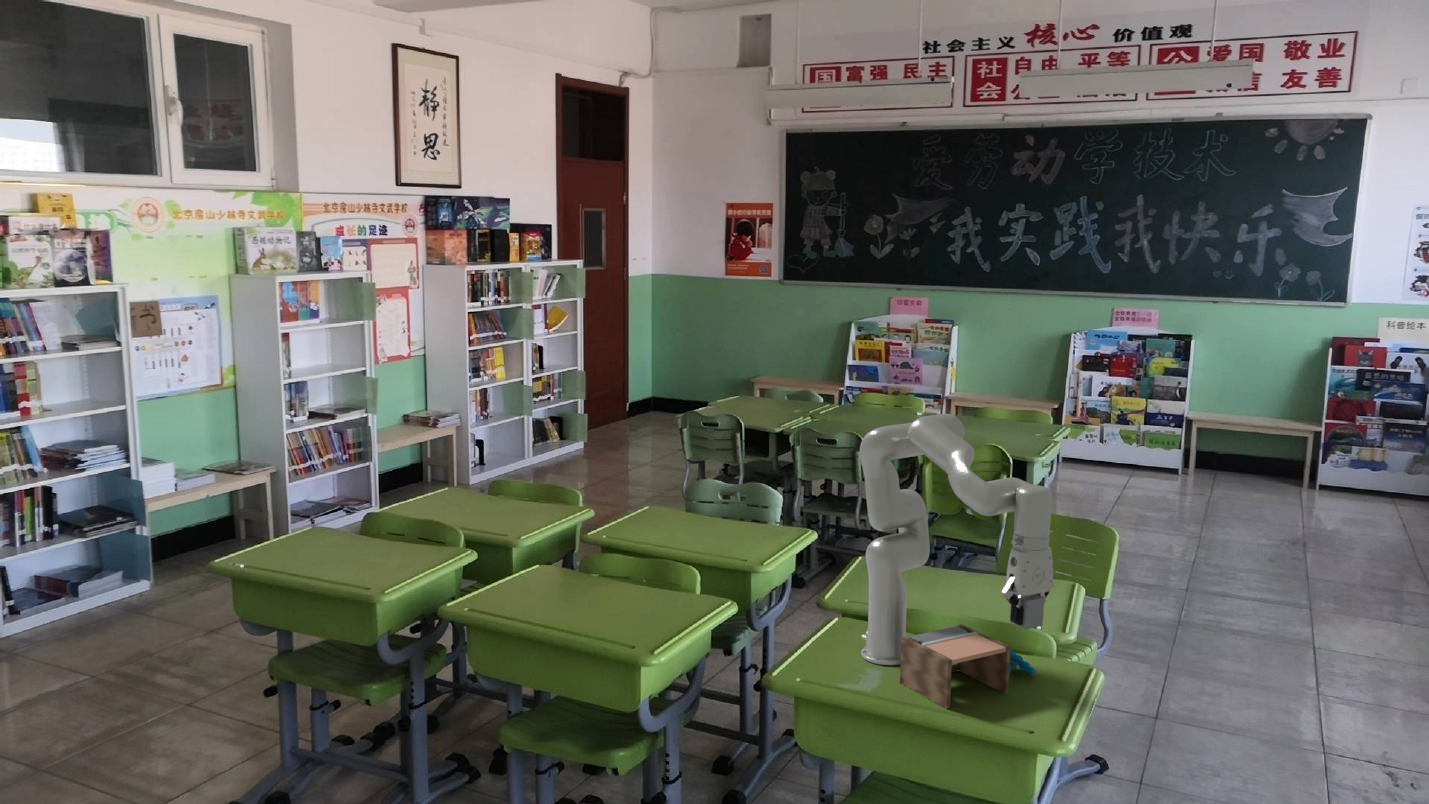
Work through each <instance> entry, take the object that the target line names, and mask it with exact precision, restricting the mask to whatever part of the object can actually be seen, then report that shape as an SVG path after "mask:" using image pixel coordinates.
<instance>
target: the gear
mask: <svg viewBox="0 0 1429 804" xmlns="http://www.w3.org/2000/svg"><path fill="white" fill-rule="evenodd" d="M1017 667H1019V669H1020V670H1022V671H1024V672H1026V673H1027V674H1029V675H1035V674H1036V669H1035V668H1034V667H1033V666H1031V663H1029V662H1028V660H1027V661H1025V660H1024V658H1023V657H1022V656H1021V655H1020V654H1017V653H1016V652H1015V651H1014V649H1012V648H1011V650H1010V672H1009V675H1010V674H1011V673H1012V671H1013V670H1014V668H1015V669H1016V668H1017Z"/></svg>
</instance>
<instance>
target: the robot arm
mask: <svg viewBox="0 0 1429 804" xmlns="http://www.w3.org/2000/svg"><path fill="white" fill-rule="evenodd" d="M965 434H966V433H965V427H964V425H963V423H962V421H961V420H960V419H959V417H957V416H955V415H953V414H950V413H940V414H938V413H937V414H932V415H925V416H921V417H918V418H917V419H915V420H914V421H913V422H907V423H901V424H890V425H885V426H884V425H883V426H880V427H877V428H874V429H872V430H870V431H869V432H867V433H866V434H865V435H864V437H863V438H862V440H861V443H860V446H859V459H860V460H859V461H860V464H861V467H862V471H863V477H864V485H865V486H864V487H865V498H866V506H867V507H866V508H867V509H866V510H867V517H868V522H869V524H870V526H871V527H872V528H873V529H874V530H876V531H878V532H879V531H881V532H886V531H887V532H888V531H894V530H897V529H898V533H893V534H888V535H884V536H880V537H877V538H875V539H874V540H872V541H871V542H870V543H869V544H868V545H867V547H866V551H865V564H866V567H867V574H868V610H867V611H868V615H867V616H868V617H867V620H868V621H867V631H866V632H865V634H862V635H861V639H862V640H864V641H865V646H864V647H863V648H862V649H861V651H860V653H861V655H860V656H861V657H862V658H863V659H864V660H865V661H867V662H870V663H872V664H876V665H881V666H899V665H900V664H901V637H907V636H906V635H907V633H906V632H907V631H906V630H907V604H908V601H907V597H908V596H907V595H908V594H907V586H906V583H905V581H904V578H903V577H902V572H905V571H908V570H912V569H916V568H919V567H922V566H923V565H925V564H926V563H927V562H928V559H929V557H930V550H931V547H930V535H929V534H930V532H929V523H928V513H927V507H926V504H925V503H926V502H924V500H923V498H922V496H921V495H920V494H919V493H918V492H917V491H915V490H913V489H910V488H905V489H904V488H903V489H901V488H900V481H899V480H900V478H899V477H900V476H899V474H898V472H897V470H896V469H897V468H896V467H895V465H894V464H893V463H892V461H893V460H897V459H898V460H899V459H905V458H911V457H918V456H923V455H924V456H925V457H926V458H927V459H929V460H930V461H932V462H933V463H934V464H935V465H937V466H938V467H939V468H940V469H941V470H943V471H944V472H945V473H946V474H947V477H948V482H949V485H950V487H951V489H952V491H953V493H954V494H955V496H956V497H957V498H958V499H959V500H960V501H962V502H963V503H964V504H965V505H966V506H967V507H968V508H970V509H971V510H973V511H974V512H975V513H978V514H979V515H981V516H986V517H991V516H997V515H1002V514H1006V513H1012V512H1013V513H1014V521H1013V522H1014V523H1013V524H1014V525H1013V537H1012V539H1011V545H1012V547H1010V548H1011V549H1010V552H1009V557H1008V563H1007V566H1006V577H1005V578H1006V579H1005V586H1003V589H1002V590H1001V592H1000V594H1001V595H1002V596H1003V597H1004V598H1005V599H1006V601H1007V602H1008V604H1009V605H1011V616H1010V615H1009V621H1011V622H1013V623H1016V624H1018V625H1022V624H1023V610H1024V609H1023V608H1022V607H1021V606H1022V603H1023V599H1024V596H1030V595H1035V594H1037V595H1039V596H1042V597H1044V604H1046V598H1047V597H1048V595H1049V594H1050V592H1051V590H1052V589H1053V588H1054V587H1055V584H1054V560H1053V552H1052V547H1050V535H1051V534H1050V533H1051V532H1050V529H1051V516H1052V503H1053V502H1052V501H1053V500H1052V499H1053V494H1052V491H1051V490H1050V488H1049V487H1045V486H1044V485H1038V484H1031V483H1030V482H1027V481H1025V480H1022V479H1020V478H1018V477H1006V478H1005V477H1004V478H1001V479H995V480H989V481H985V480H984V479H982V478H981V477H979V476H978V475H977V474H976V473H975V472H974V471H972V470H971V466H972V464H973V462H974V459H975V455H976V454H975V453H976V452H975V449H974V447H973V446H972V445H971V444H970V443H968V442H967V441H966V440H964V438H965ZM1016 595H1018V600H1017V599H1016ZM1013 623H1012V624H1013Z"/></svg>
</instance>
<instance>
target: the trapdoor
mask: <svg viewBox="0 0 1429 804" xmlns="http://www.w3.org/2000/svg"><path fill="white" fill-rule="evenodd" d="M908 638H909V639H911V640H913V641H915V642H917V643H919V644H921V645H923V646H925V647H927V648H929V649H931V650H932V651H934V652H936V653H938V654H940V655H942V656H944V657H946V658H948V659H950V660H952V665H954V664H957V663H960V662H964V661H968V660H973V659H977V658H981V657H985V656H990V655H994V654H998V653H1002V652H1006V647H1004V646H1002V645H999V644H997V643H995V642H993V641H991V640H989V639H986V638H984V637H982V636H980V635H978V634H977V633H976V632H972V633H969V632H967V631H966V630H964V629H962V628H960V627H959V625H958V626H952V627H948V628H941V629H938V630H933V631H928V632H925V633H924V632H923V633H919V634H915V635H909V636H908Z"/></svg>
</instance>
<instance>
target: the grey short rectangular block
mask: <svg viewBox="0 0 1429 804" xmlns="http://www.w3.org/2000/svg"><path fill="white" fill-rule="evenodd" d="M1016 599H1017V600H1018V595H1016ZM1009 605H1010V604H1009ZM1021 607H1022V608H1023V609H1024V610H1023V624H1022V625H1018V624H1016V623H1013V622H1011V621H1010V620H1009V623H1010V624H1012V625H1013V624H1014V626H1017V627H1019V628H1022V629H1024V630H1029V629H1033V628H1034V629H1035V628H1038V627H1043V626H1044V625H1043V624H1044V611H1045V610H1044V609H1045V603H1044V597H1042V596H1039V595H1037V594H1035V595H1030V596H1024V599H1023V603H1022V606H1021ZM1010 616H1011V605H1010V608H1009V617H1010Z"/></svg>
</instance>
